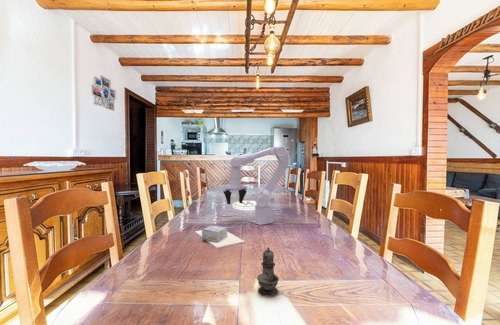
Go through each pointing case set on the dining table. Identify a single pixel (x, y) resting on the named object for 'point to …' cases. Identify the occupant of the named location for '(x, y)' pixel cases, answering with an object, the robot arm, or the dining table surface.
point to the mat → (224, 240)
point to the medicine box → (214, 233)
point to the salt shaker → (268, 275)
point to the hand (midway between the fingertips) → (234, 203)
